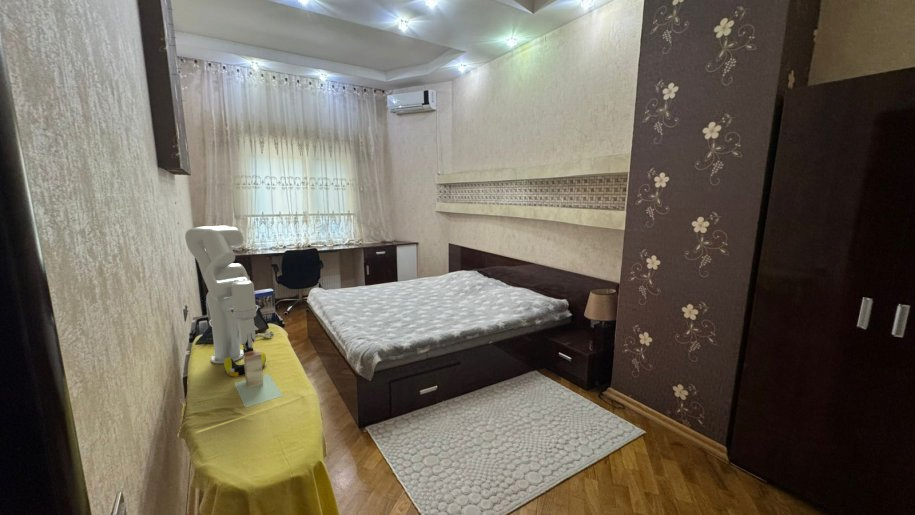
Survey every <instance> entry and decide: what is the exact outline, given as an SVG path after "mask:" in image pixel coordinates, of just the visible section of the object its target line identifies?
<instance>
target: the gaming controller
mask: <svg viewBox="0 0 915 515" xmlns="http://www.w3.org/2000/svg"><path fill="white" fill-rule="evenodd" d="M259 352H260V353H261V359H262V369H263V368H264V366H265V364H266V360H267V356H266V353H265V352H263V351H262V352H261V351H259ZM235 362H236V361H233V360H232V359H231V358H230V357H228V358H226V359H225V361H224V364H223V367H224V371H225V372H226V374H227V375H228V376H229V377H237V378H238V377H240V376H245V368H244V363H243V364H237V363H235Z"/></svg>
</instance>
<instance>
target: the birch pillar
mask: <svg viewBox="0 0 915 515" xmlns="http://www.w3.org/2000/svg"><path fill="white" fill-rule="evenodd" d="M260 352H261V351H260V350H259V349H256V350H253V351H250V352H246V353H243V356H244V357H243V364H244V368H245V375H244V377H245V380H246V384H247V386H248V388H251V387H254V386H258V385H261V384H263V375H264V372H263V368H262V359H261V353H260Z"/></svg>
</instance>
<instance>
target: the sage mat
mask: <svg viewBox="0 0 915 515" xmlns="http://www.w3.org/2000/svg"><path fill="white" fill-rule="evenodd" d="M234 386H235V389H236V390H237V393H238V396H239V397H240V399H241V401H242V404H243V407H244V408H245V409H246V408H249V407H252V406H256V405H258V404H261V403H264V402H268V401H272V400H275V399H278V398H280V397H283V393H282V391H281V390H280V389H279V387H278V386H277V384H276V382H275V381H274V380H273V377H271V375H270V374H269V373H268V374H263V384H261V385H258V386H254V387H251V388H248V386H247V384H246V379H245V380H241V381H238V382H235V383H234Z"/></svg>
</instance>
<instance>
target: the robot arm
mask: <svg viewBox="0 0 915 515" xmlns="http://www.w3.org/2000/svg"><path fill="white" fill-rule="evenodd" d="M184 236H185V244H186V245H187V248H188V250H189V252H190V253H191V254H192V256H193V258H194V259H195V260H196V261H197V264H198V267H199V270H200V272H201V276H202V278H203V282H204V283H205V285H206V288H207V290H208V292H207V293H206V296H205V298H206V304H207V308H208V310H209V313H210V319H211V320H210V322H211V330H212V339H213V349H214V354H213V355H211V357H210V361H211V363H213V364H216V365H220V364H222V365H224V361H225V359H226V358H228V357H230V358H231V359H232V360H233V361H234V362H236V361H239V360H241V359H243V358H244V356H243V353H246V352H250V351H254V343H255V342H256V338H257V337H256V336H257V335H256V327H255V326H256V325H255V319H254V318H255V317H256V316H257V307H256V296H255V284H254V282H253V281H251V280H250V278H249V275H248V272H247V270H246V268H245V267H244V266H243V264H242V263H238V262H237V263H234V262H235V259H236V255H235V253H234V251H233V248H235V247H240V246H242V245H243V242H244V236H243V233H242V232H241V230H240V229H239V228H238V227H236V226H231V225H213V226H212V225H211V226H209V225H207V226H196V227H192V228H189V229H188V230H186V232H185V235H184ZM231 309H232V310H231ZM241 346H243V348H242V349H241Z"/></svg>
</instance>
